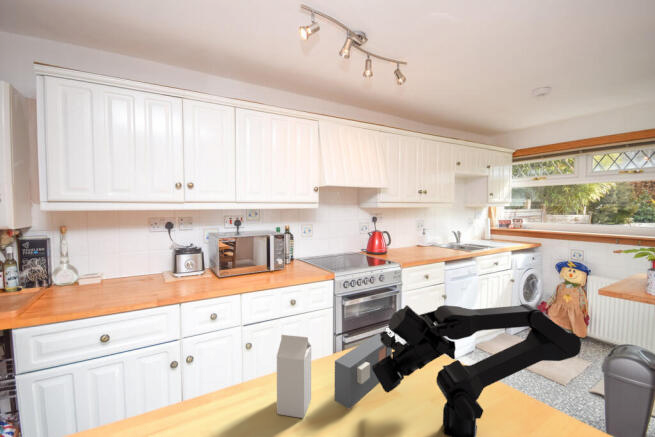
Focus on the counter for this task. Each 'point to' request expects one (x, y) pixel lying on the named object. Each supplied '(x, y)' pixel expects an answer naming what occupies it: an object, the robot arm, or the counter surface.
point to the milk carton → (293, 376)
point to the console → (346, 371)
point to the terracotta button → (382, 354)
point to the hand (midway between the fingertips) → (381, 375)
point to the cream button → (363, 372)
